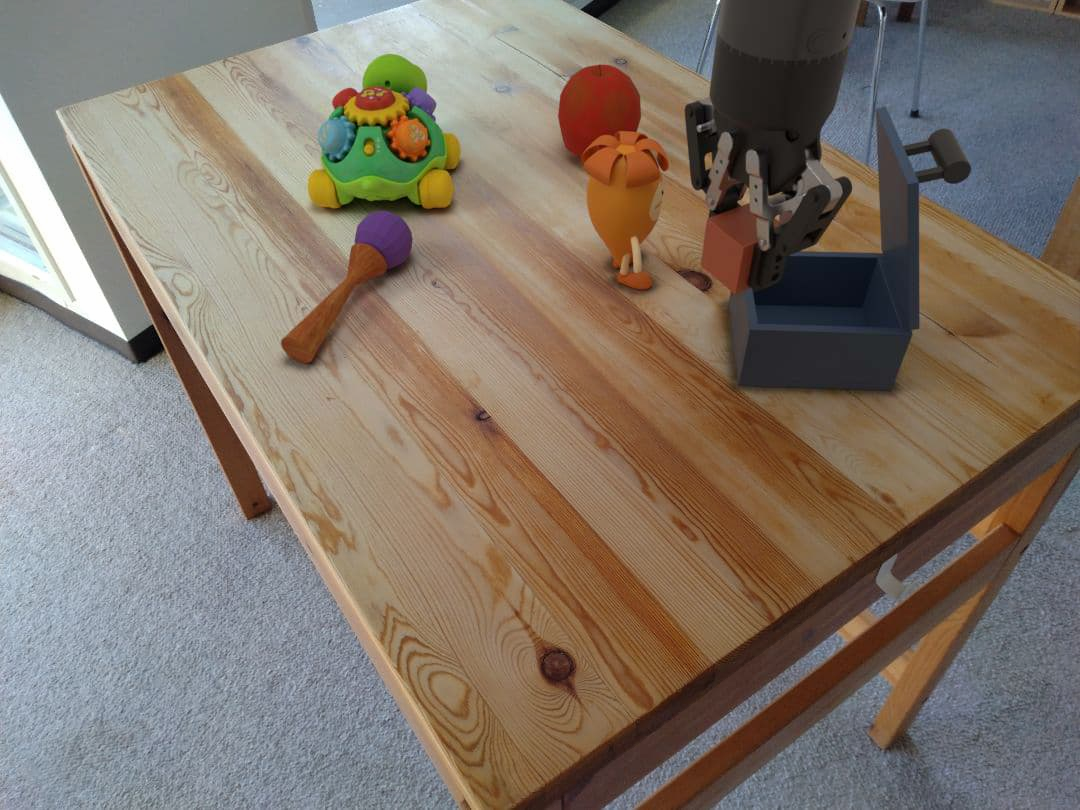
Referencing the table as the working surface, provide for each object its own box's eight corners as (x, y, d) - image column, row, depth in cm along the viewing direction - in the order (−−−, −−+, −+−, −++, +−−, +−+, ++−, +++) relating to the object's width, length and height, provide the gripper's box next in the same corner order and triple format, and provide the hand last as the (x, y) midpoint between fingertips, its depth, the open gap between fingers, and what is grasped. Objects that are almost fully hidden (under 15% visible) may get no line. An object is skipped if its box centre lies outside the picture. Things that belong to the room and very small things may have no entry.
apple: (608, 184, 102) (611, 91, 93) (541, 159, 106) (539, 69, 98) (653, 148, 107) (660, 58, 99) (587, 126, 112) (589, 38, 103)
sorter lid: (907, 184, 62) (985, 167, 60) (875, 108, 70) (943, 91, 68) (909, 331, 71) (976, 319, 70) (881, 249, 79) (941, 237, 78)
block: (779, 276, 60) (790, 229, 57) (735, 295, 59) (743, 247, 56) (743, 248, 63) (752, 201, 60) (700, 265, 61) (706, 218, 59)
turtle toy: (469, 127, 112) (461, 38, 104) (451, 227, 96) (440, 131, 88) (343, 128, 113) (325, 39, 104) (304, 228, 97) (278, 132, 88)
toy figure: (669, 303, 86) (683, 171, 75) (592, 313, 85) (594, 180, 74) (641, 236, 94) (650, 108, 83) (570, 244, 93) (570, 116, 82)
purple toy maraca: (257, 324, 79) (364, 199, 90) (285, 369, 83) (384, 244, 95) (308, 330, 76) (411, 200, 88) (334, 376, 81) (429, 247, 92)
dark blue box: (738, 386, 77) (749, 329, 72) (728, 305, 85) (737, 249, 80) (891, 391, 76) (913, 334, 71) (866, 309, 84) (884, 252, 80)
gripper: (928, 57, 45) (850, 305, 58) (755, -27, 54) (720, 205, 66) (821, 92, 43) (763, 344, 55) (658, -1, 51) (640, 234, 64)
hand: (740, 267), depth 61 cm, fingers closed on block, 4 cm apart
